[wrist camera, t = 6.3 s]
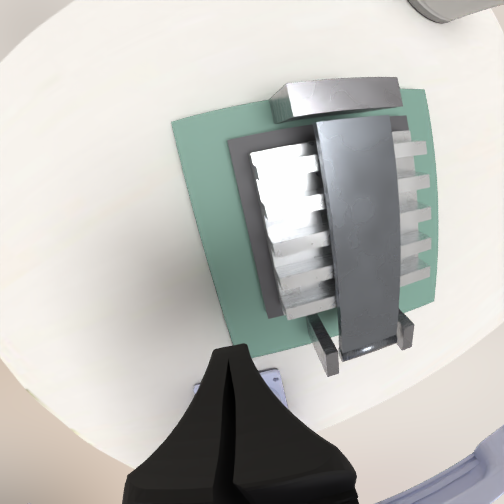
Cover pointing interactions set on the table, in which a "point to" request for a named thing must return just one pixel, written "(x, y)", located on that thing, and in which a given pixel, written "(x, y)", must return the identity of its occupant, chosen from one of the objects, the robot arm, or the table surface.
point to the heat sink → (314, 204)
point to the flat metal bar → (362, 229)
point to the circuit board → (250, 218)
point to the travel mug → (452, 8)
